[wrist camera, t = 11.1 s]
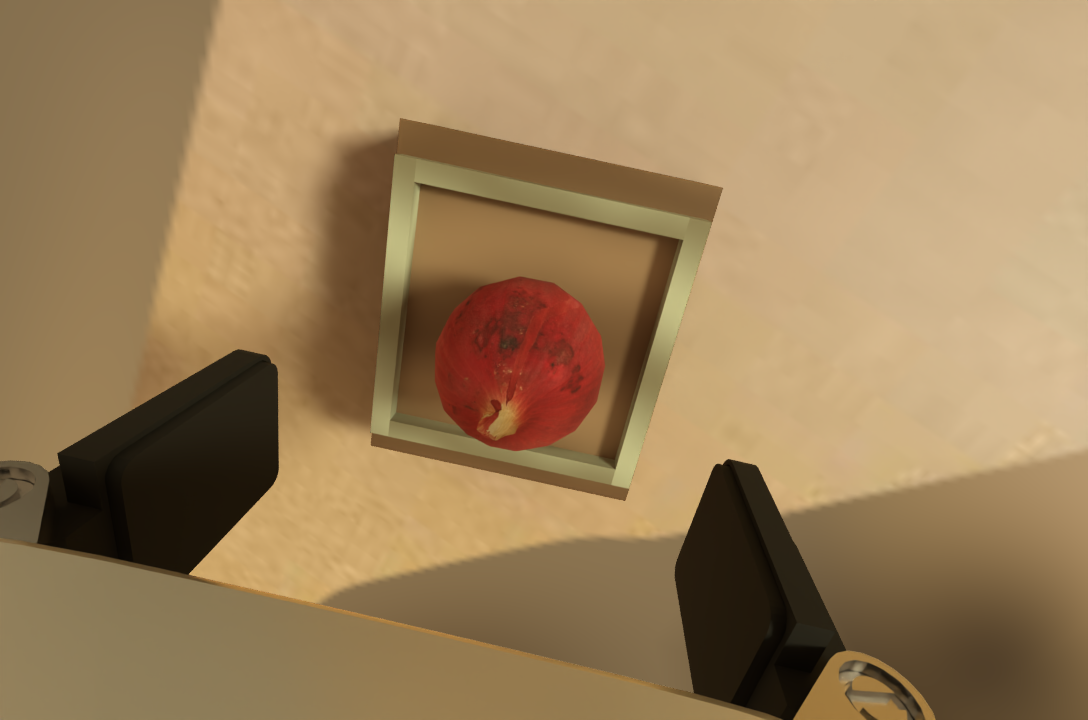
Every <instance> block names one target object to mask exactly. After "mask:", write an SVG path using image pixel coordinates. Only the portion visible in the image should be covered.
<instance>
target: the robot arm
mask: <svg viewBox="0 0 1088 720" xmlns="http://www.w3.org/2000/svg"><path fill="white" fill-rule="evenodd" d="M58 459H59V464H60V466H58V467H57V468H55V469H53V470H52V471H50V472H47V470H45V469H44V468H43V467H42V466H40V465H37V464H34V463H31V462H25V461H0V720H936V719H935V717H934V714H933V712H932V710H931V709H930V707H929V706H928V704H927V703H926V701H925V699H924V698H923V696H922V695H921V694H920V693H919V692H918V691H917V690H916V689H915V688H914V687H913V685H912V684H911V683H910V682H909V681H908V680H906V679H905V678H904V677H903V676H901V675H900V674H899V673H898V672H896V671H895V670H894V669H893V668H891V667H890V666H888V665H886V664H885V663H883V662H881V661H880V660H878V659H876V658H873V657H871V656H868V655H866V654H863V653H859V652H853V651H846V649H845V647H844V645H843V643H842V641H841V638H840V636H839V634H838V632H837V630H836V628H835V626H834V624H833V622H832V620H831V617H830V616H829V613H828V611H827V609H826V607H825V605H824V603H823V601H822V599H821V597H820V594H819V592H818V590H817V588H816V586H815V584H814V582H813V580H812V578H811V576H810V573H809V572H808V570H807V567H806V565H805V563H804V561H803V559H802V557H801V555H800V553H799V550H798V548H797V546H796V545H795V543H794V542H793V540H792V538H791V536H790V534H789V532H788V530H787V528H786V526H785V523H784V521H783V519H782V517H781V515H780V513H779V511H778V509H777V506H776V504H775V502H774V500H773V498H772V496H771V494H770V492H769V490H768V488H767V485H766V483H765V481H764V479H763V477H762V475H761V473H760V471H759V469H758V467H757V466H756V465H752V464H748V463H744V462H739V461H735V460H730V459H728V460H726V461H725V462H724V464H723V465H721V464H716V465H715V466H714V468H713V470H712V472H711V475H710V478H709V480H708V483H707V485H706V488H705V490H704V493H703V495H702V498H701V500H700V503H699V505H698V508H697V510H696V513H695V516H694V518H693V521H692V523H691V526H690V528H689V531H688V533H687V536H686V538H685V541H684V543H683V546H682V549H681V551H680V554H679V556H678V559H677V562H676V566H675V581H676V588H677V594H678V599H679V605H680V612H681V617H682V624H683V630H684V636H685V642H686V648H687V654H688V659H689V666H690V672H691V678H692V684H693V690H694V693H691V692H688V691H683V690H679V689H675V688H671V687H666V686H662V685H658V684H653V683H650V682H646V681H642V680H638V679H633V678H630V677H626V676H622V675H618V674H614V673H610V672H606V671H601V670H597V669H593V668H588V667H585V666H580V665H576V664H572V663H568V662H564V661H559V660H555V659H551V658H547V657H542V656H537V655H534V654H530V653H525V652H521V651H517V650H513V649H509V648H504V647H500V646H496V645H492V644H488V643H484V642H479V641H475V640H471V639H466V638H462V637H458V636H454V635H449V634H445V633H441V632H436V631H432V630H428V629H423V628H419V627H415V626H411V625H406V624H402V623H397V622H393V621H389V620H385V619H380V618H376V617H371V616H367V615H363V614H359V613H354V612H350V611H346V610H341V609H337V608H332V607H328V606H324V605H320V604H315V603H311V602H307V601H302V600H298V599H293V598H289V597H285V596H280V595H276V594H271V593H267V592H262V591H258V590H253V589H249V588H245V587H240V586H236V585H231V584H227V583H222V582H218V581H214V580H209V579H205V578H200V577H196V576H191V575H188V574H189V573H190V572H191V571H192V570H193V569H194V568H195V567H196V566H197V565H198V564H199V563H200V562H201V561H202V559H203V558H204V557H205V556H206V555H207V554H208V553H209V552H210V551H211V550H212V549H213V548H214V547H215V546H216V545H217V544H218V543H219V542H220V540H221V539H222V538H223V537H224V536H225V535H226V534H227V533H228V532H229V531H230V530H231V529H232V528H233V527H234V526H235V525H236V524H237V523H238V521H239V520H240V519H241V518H242V517H243V516H244V515H245V514H246V513H247V512H248V511H249V510H250V509H251V508H252V507H253V506H254V505H255V504H256V502H257V501H258V500H259V499H260V498H261V497H262V496H263V495H264V494H265V493H266V492H267V491H268V490H269V489H270V488H271V486H272V485H273V484H274V482H275V480H276V478H277V475H278V470H279V454H278V371H277V367H276V365H274V364H271V361H270V358H269V357H268V356H267V355H262V354H258V353H253V352H249V351H244V350H239V349H238V350H235V351H233V352H232V353H230V354H228V355H226V356H225V357H223V358H221V359H219V360H218V361H216V362H214V363H213V364H211V365H209V366H207V367H206V368H204V369H202V370H201V371H199V372H197V373H195V374H194V375H192V376H190V377H188V378H187V379H185V380H183V381H182V382H180V383H178V384H176V385H175V386H173V387H171V388H169V389H168V390H166V391H164V392H163V393H161V394H159V395H157V396H156V397H154V398H152V399H150V400H149V401H147V402H145V403H144V404H142V405H140V406H138V407H137V408H135V409H133V410H131V411H130V412H128V413H126V414H125V415H123V416H121V417H119V418H118V419H116V420H114V421H112V422H111V423H109V424H107V425H106V426H104V427H102V428H101V429H99V430H97V431H95V432H93V433H92V434H90V435H88V436H87V437H85V438H83V439H81V440H80V441H78V442H76V443H75V444H73V445H71V446H69V447H68V448H66V449H64V450H63V451H61V452H59V453H58Z"/></svg>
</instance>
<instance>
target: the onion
mask: <svg viewBox="0 0 1088 720" xmlns="http://www.w3.org/2000/svg"><path fill="white" fill-rule="evenodd" d="M604 368H605V361H604V354H603V346H602V338H601V335H600V334H599V332H598V330H597V328H596V327H595V325H594V323H593V322H592V320H591V318H590V317H589V315H588V313H587V312H586V310H585V308H584V307H583V305H582V303H580V302H579V301H578V300H576V299H575V298H574V297H572V296H571V295H570V294H568V293H567V292H566V291H564V290H563V289H562V288H560V287H559V286H558V285H556V284H555V283H552V282H547V281H542V280H537V279H532V278H527V277H521V276H519V277H515V278H511V279H507V280H504V281H500V282H496V283H492V284H488V285H485V286H481V287H479V288H478V289H477V290H476V291H474V292H473V293H472V294H471V295H470V296H469V297H467V298H466V299H465V300H464V301H463V302H462V303H460V304H459V305H458V306H457V307H456V308H455V309H454V310H453V312H452V313H451V315H450V316H449V318H448V320H447V322H446V324H445V326H444V328H443V330H442V332H441V334H440V336H439V338H438V340H437V342H436V350H435V383H436V386H437V390H438V393H439V396H440V399H441V402H442V406H443V409H444V411H445V412H446V413H447V414H448V416H449V417H450V418H451V419H452V420H453V421H454V422H455V423H456V424H457V425H458V426H459V427H460V428H461V429H462V430H463V431H464V432H465V433H466V434H467V435H469V436H471V437H473V438H475V439H477V440H479V441H480V442H482V443H484V444H486V445H488V446H490V447H496V448H501V449H506V450H511V451H521V450H527V449H533V448H539V447H544V446H549V445H551V444H553V443H554V442H556V441H558V440H560V439H562V438H563V437H565V436H567V435H569V434H570V433H572V432H574V431H575V430H576V429H577V428H578V427H579V425H580V424H581V423H582V421H583V420H584V419H585V417H586V416H587V415H588V413H589V412H590V410H591V409H592V408H593V406H594V405H595V404H596V402H597V399H598V395H599V390H600V386H601V382H602V377H603V373H604Z"/></svg>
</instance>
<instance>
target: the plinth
mask: <svg viewBox="0 0 1088 720" xmlns="http://www.w3.org/2000/svg"><path fill="white" fill-rule="evenodd" d="M722 189H723V188H721V187H717V186H712V185H708V184H704V183H699V182H695V181H690V180H685V179H681V178H676V177H671V176H667V175H662V174H657V173H653V172H648V171H644V170H639V169H634V168H630V167H625V166H620V165H616V164H611V163H607V162H602V161H597V160H593V159H588V158H583V157H579V156H574V155H569V154H565V153H560V152H556V151H551V150H546V149H542V148H537V147H532V146H528V145H523V144H519V143H514V142H509V141H505V140H500V139H495V138H491V137H486V136H481V135H477V134H472V133H468V132H463V131H458V130H454V129H449V128H444V127H440V126H435V125H431V124H426V123H421V122H416V121H411V120H406V119H401V118H400V124H399V135H398V146H397V154H395V157H394V168H393V179H392V191H391V202H390V214H389V225H388V236H387V248H386V259H385V271H384V282H383V294H382V305H381V316H380V328H379V339H378V351H377V362H376V374H375V385H374V396H373V408H372V419H371V431H370V433H372V438H371V446H376V447H380V448H385V449H389V450H394V451H399V452H403V453H408V454H412V455H417V456H421V457H426V458H431V459H435V460H440V461H444V462H449V463H454V464H458V465H463V466H467V467H472V468H477V469H481V470H486V471H490V472H495V473H499V474H504V475H509V476H513V477H518V478H522V479H527V480H532V481H536V482H541V483H545V484H550V485H555V486H559V487H564V488H568V489H573V490H577V491H582V492H587V493H591V494H596V495H600V496H605V497H610V498H614V499H619V500H623V501H625V500H626V497H627V494H628V491H629V488H630V484H631V481H632V478H633V475H634V472H635V468H636V465H637V462H638V459H639V455H640V452H641V449H642V446H643V443H644V439H645V436H646V433H647V430H648V427H649V423H650V420H651V417H652V414H653V411H654V407H655V404H656V401H657V398H658V395H659V391H660V388H661V385H662V382H663V379H664V375H665V372H666V369H667V366H668V363H669V359H670V356H671V353H672V350H673V347H674V343H675V340H676V337H677V334H678V330H679V327H680V324H681V321H682V318H683V314H684V311H685V308H686V305H687V302H688V298H689V295H690V292H691V289H692V286H693V282H694V279H695V276H696V273H697V270H698V266H699V263H700V260H701V257H702V254H703V250H704V247H705V244H706V241H707V238H708V234H709V231H710V228H711V225H712V222H713V218H714V215H715V212H716V209H717V205H718V202H719V199H720V196H721V193H722ZM519 276H521V277H527V278H532V279H537V280H542V281H547V282H552V283H555V284H556V285H558V286H559V287H560V288H562V289H563V290H564V291H566V292H567V293H568V294H570V295H571V296H572V297H574V298H575V299H576V300H578V301H579V302H580V303H582V305H583V307H584V308H585V310H586V312H587V313H588V315H589V317H590V318H591V320H592V322H593V323H594V325H595V327H596V328H597V330H598V332H599V334H600V335H601V338H602V346H603V354H604V361H605V368H604V373H603V377H602V382H601V386H600V390H599V395H598V399H597V402H596V404H595V405H594V406H593V408H592V409H591V410H590V412H589V413H588V415H587V416H586V417H585V419H584V420H583V421H582V423H581V424H580V425H579V427H578V428H577V429H576V430H575V431H574V432H572V433H570V434H569V435H567V436H565V437H563V438H562V439H560V440H558V441H556V442H554V443H553V444H551V445H549V446H544V447H539V448H533V449H527V450H521V451H511V450H506V449H501V448H496V447H490V446H488V445H486V444H484V443H482V442H480V441H479V440H477V439H475V438H473V437H471V436H469V435H467V434H466V433H465V432H464V431H463V430H462V429H461V428H460V427H459V426H458V425H457V424H456V423H455V422H454V421H453V420H452V419H451V418H450V417H449V416H448V414H447V413H446V412H445V411H444V409H443V406H442V402H441V399H440V396H439V393H438V390H437V386H436V383H435V350H436V342H437V340H438V338H439V336H440V334H441V332H442V330H443V328H444V326H445V324H446V322H447V320H448V318H449V316H450V315H451V313H452V312H453V310H454V309H455V308H456V307H457V306H458V305H459V304H460V303H462V302H463V301H464V300H465V299H466V298H467V297H469V296H470V295H471V294H472V293H473V292H474V291H476V290H477V289H478V288H479V287H481V286H485V285H488V284H492V283H496V282H500V281H504V280H507V279H511V278H515V277H519Z"/></svg>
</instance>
